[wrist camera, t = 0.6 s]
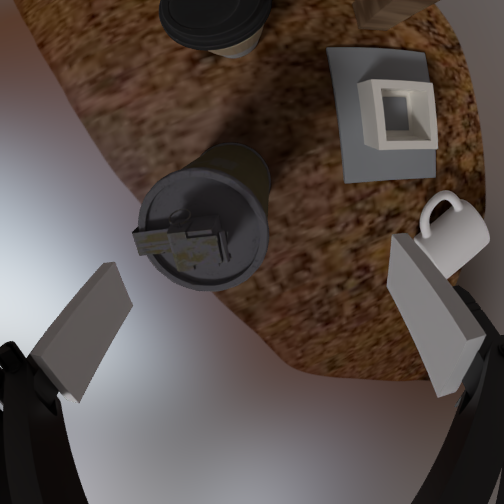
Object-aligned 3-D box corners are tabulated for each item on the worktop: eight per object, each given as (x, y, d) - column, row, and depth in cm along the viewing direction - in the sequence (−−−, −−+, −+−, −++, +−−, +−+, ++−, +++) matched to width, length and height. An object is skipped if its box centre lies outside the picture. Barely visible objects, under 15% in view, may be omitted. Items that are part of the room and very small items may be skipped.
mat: (325, 48, 28) (327, 47, 27) (422, 53, 26) (424, 52, 25) (343, 181, 36) (345, 183, 35) (432, 176, 34) (435, 177, 33)
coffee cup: (286, 26, 27) (293, -24, 13) (248, 83, 31) (231, 63, 17) (220, -1, 25) (190, -55, 12) (184, 54, 29) (131, 27, 16)
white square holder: (356, 83, 29) (370, 79, 24) (412, 85, 28) (432, 83, 23) (364, 144, 32) (379, 150, 27) (417, 142, 31) (437, 149, 26)
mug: (468, 229, 37) (494, 251, 30) (426, 264, 40) (447, 292, 33) (442, 170, 33) (473, 185, 26) (394, 209, 37) (418, 232, 30)
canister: (265, 137, 34) (257, 165, 16) (275, 213, 39) (275, 308, 21) (182, 150, 35) (101, 192, 17) (197, 222, 40) (143, 313, 22)
